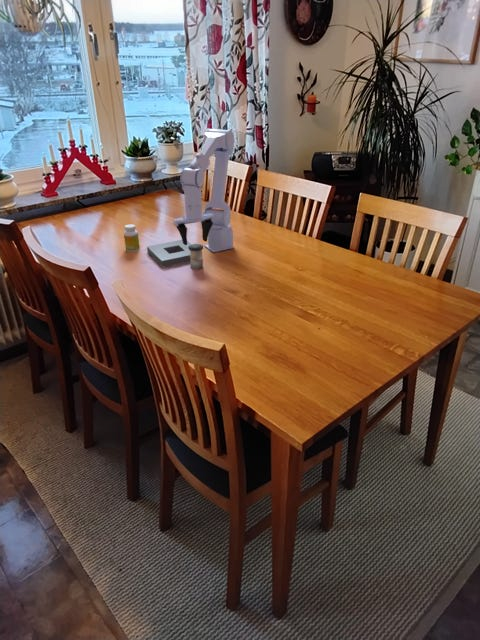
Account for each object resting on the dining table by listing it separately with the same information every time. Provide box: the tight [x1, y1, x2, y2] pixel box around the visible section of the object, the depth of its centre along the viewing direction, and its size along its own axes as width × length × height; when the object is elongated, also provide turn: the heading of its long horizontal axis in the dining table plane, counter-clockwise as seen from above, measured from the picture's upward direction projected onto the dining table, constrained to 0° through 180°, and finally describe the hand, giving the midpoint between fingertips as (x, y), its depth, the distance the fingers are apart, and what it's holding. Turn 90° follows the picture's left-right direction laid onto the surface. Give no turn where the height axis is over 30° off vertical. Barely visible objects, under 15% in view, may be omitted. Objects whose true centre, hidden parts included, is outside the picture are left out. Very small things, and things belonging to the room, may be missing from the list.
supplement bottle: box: [123, 223, 140, 253], centre depth 187 cm, size 5×5×10 cm
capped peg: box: [188, 243, 204, 271], centre depth 173 cm, size 5×5×8 cm
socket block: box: [146, 239, 192, 268], centre depth 183 cm, size 16×16×2 cm
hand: (195, 242), depth 170 cm, fingers open, 7 cm apart
